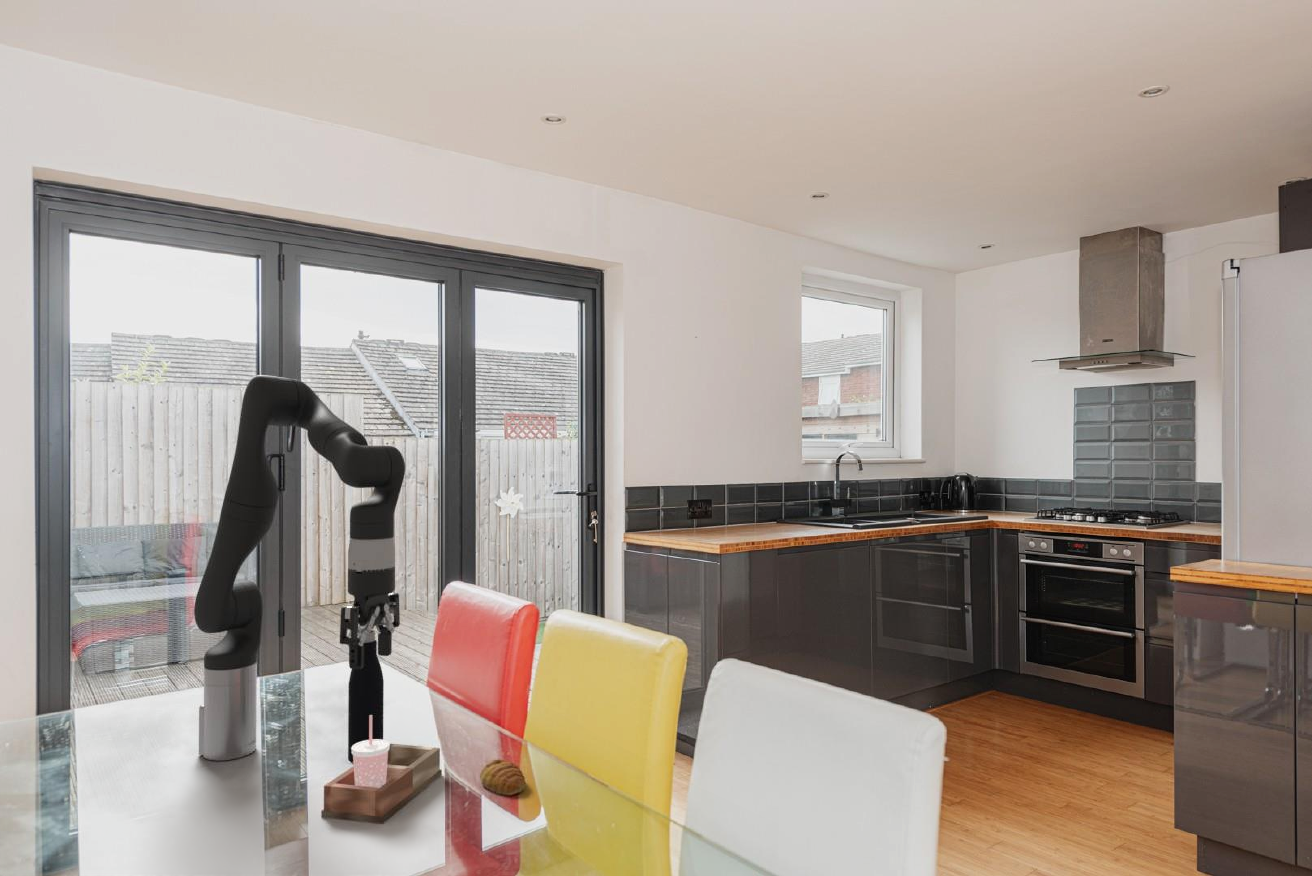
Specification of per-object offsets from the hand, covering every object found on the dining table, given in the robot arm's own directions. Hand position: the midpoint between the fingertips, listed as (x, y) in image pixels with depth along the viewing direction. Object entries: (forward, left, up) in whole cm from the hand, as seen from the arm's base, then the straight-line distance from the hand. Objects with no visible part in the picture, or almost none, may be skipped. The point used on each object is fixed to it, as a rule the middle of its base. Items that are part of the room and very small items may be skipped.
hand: (370, 661), depth 138 cm
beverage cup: (0, 0, -23) cm, 23 cm away
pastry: (+19, +13, -24) cm, 33 cm away
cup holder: (0, +5, -24) cm, 24 cm away
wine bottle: (-13, +20, -24) cm, 34 cm away
